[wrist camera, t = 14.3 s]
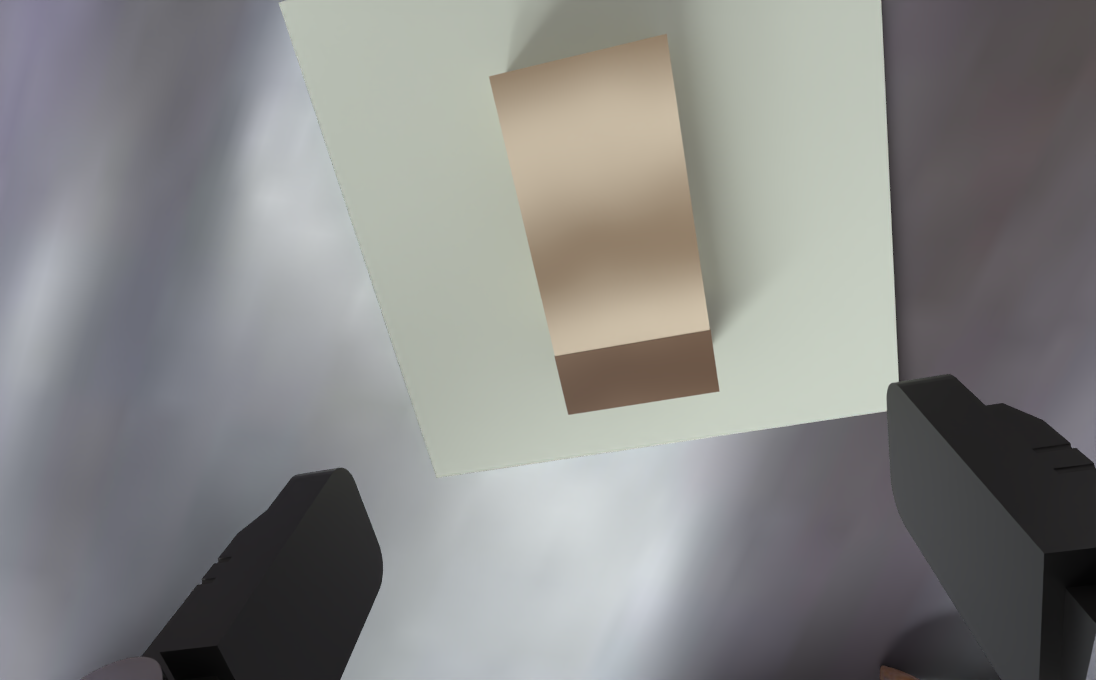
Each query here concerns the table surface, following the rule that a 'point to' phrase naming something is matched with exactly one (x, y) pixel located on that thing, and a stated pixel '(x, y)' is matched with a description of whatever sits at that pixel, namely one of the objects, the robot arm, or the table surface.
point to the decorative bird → (894, 674)
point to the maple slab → (610, 223)
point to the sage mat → (715, 189)
